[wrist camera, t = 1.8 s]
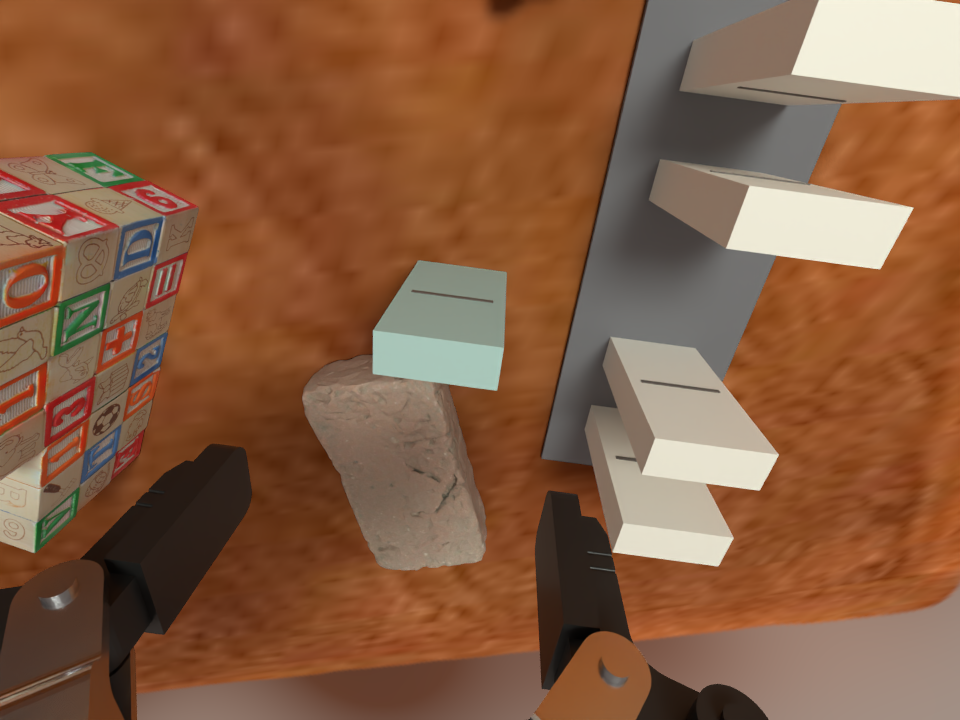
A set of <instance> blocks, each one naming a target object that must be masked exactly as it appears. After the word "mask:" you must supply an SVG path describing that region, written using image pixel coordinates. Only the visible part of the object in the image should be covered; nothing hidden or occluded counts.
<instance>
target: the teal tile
mask: <svg viewBox="0 0 960 720" xmlns="http://www.w3.org/2000/svg"><path fill="white" fill-rule="evenodd" d="M506 279H507V272H502V271H495V270H487V269H480V268H472V267H465V266H458V265H450V264H443V263H435V262H428V261H420V260H419V261H418V262H417V264H416V265H415V267H414V268H413V270H412V271H411V273H410V274H409V276H408V277H407V279H406V281H405V282H404V284H403V285H402V287H401V288H400V290H399V291H398V293H397V294H396V296H395V297H394V299H393V301H392V302H391V304H390V305H389V307H388V308H387V310H386V311H385V313H384V314H383V316H382V317H381V319H380V320H379V322H378V324H377V325H376V327H375V328H374V330H373V374H377V375H384V376H391V377H399V378H406V379H414V380H421V381H429V382H436V383H444V384H451V385H458V386H466V387H473V388H481V389H488V390H496V391H497V388H498V381H499V375H500V369H501V363H502V356H503V350H504V332H505V305H506Z"/></svg>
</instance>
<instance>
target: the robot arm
mask: <svg viewBox="0 0 960 720" xmlns="http://www.w3.org/2000/svg"><path fill="white" fill-rule="evenodd" d="M251 496H252V489H251V482H250V475H249V469H248V462H247V456H246V451H245V450H244V448H242V447H235V446H228V445H221V444H211V445H209V446H208V447H207V448H206V449H205V450H204V451H203V452H202V453H201V454H200V455H199V456H198V457H197V458H196V459H195V460H194V462H193V461H185V462H183V463H181V464H180V465H178V466H176V467H174V468H173V469H171V470H169V471H168V472H166V473H164V474H163V475H162V476H161V477H160V478H159V480H158V481H157V482H156V483H155V484H154V485H153V486H152V487H151V488H150V489H149V492H148V493H147V492H146V493H145V494H144V495H143V496H142V497H141V498H140V499H139V500H138V501H137V502H136V505H135V506H132V507H131V508H130V509H129V510H128V511H127V512H126V513H125V514H124V515H123V516H122V517H121V518H120V519H119V520H118V521H117V522H116V523H115V524H114V525H113V526H112V527H111V528H110V529H109V531H108V532H107V533H106V534H105V535H104V536H103V537H102V538H101V539H100V540H99V541H98V542H97V543H96V544H95V545H94V546H93V547H92V548H91V549H90V550H89V551H88V552H87V553H86V554H85V555H84V556H83V557H82V558H81V559H80V560H73V561H68V562H64V563H60V564H58V565H55V566H53V567H50V568H48V569H46V570H44V571H43V572H41V573H39V574H37V575H36V576H35V577H33V578H32V579H30V580H29V581H28V582H27V583H25V584H24V585H23V586H20V587H13V588H6V589H0V720H137V703H136V701H137V700H136V660H135V649H134V645H135V644H136V642H137V641H138V640H139V638H140V637H141V636H142V634H143V633H144V632H148V633H155V634H162V635H164V634H165V633H166V631H167V630H168V628H169V627H170V625H171V624H172V622H173V621H174V620H175V618H176V617H177V615H178V614H179V612H180V611H181V609H182V608H183V606H184V605H185V603H186V602H187V600H188V599H189V597H190V596H191V594H192V593H193V591H194V590H195V588H196V587H197V585H198V584H199V582H200V581H201V580H202V578H203V577H204V575H205V574H206V572H207V571H208V569H209V568H210V566H211V565H212V563H213V562H214V560H215V559H216V557H217V556H218V554H219V553H220V551H221V550H222V548H223V547H224V545H225V544H226V542H227V541H228V540H229V538H230V537H231V535H232V534H233V532H234V531H235V529H236V528H237V526H238V525H239V523H240V522H241V520H242V519H243V517H244V516H245V514H246V512H247V510H248V508H249V505H250V502H251ZM611 555H612V553H611V549H610V544H609V540H608V535H607V534H606V532H605V531H604V529H603V528H602V526H601V525H600V523H599V522H598V520H597V519H596V518H592V517H585V516H581V511H580V505H579V499H578V496H577V495H576V494H570V493H563V492H555V491H548V492H547V495H546V499H545V503H544V507H543V511H542V515H541V519H540V523H539V526H538V531H537V536H536V545H535V562H536V582H537V602H538V622H539V642H540V661H541V683H542V689H548V690H550V691H549V692H548V694H547V696H546V697H545V698H544V700H543V701H542V703H541V704H540V706H539V707H538V708H537V710H536V711H535V713H534V714H533V715H532V717H531V718H530V719H529V720H768V718H767V717H766V715H765V714H764V713H763V711H762V710H761V709H760V708H759V707H758V706H757V704H755V703H754V702H753V701H752V700H751V699H750V698H749V697H747V696H746V695H745V694H743V693H742V692H740V691H738V690H737V689H734V688H732V687H730V686H726V685H721V684H714V685H709V686H707V687H705V688H704V689H703V690H702V691H701V692H700V693H699V692H697V691H695V690H693V689H691V688H688V687H686V686H684V685H682V684H680V683H678V682H676V681H674V680H672V679H670V678H668V677H666V676H664V675H662V674H661V673H659V672H658V671H656V670H655V669H654V668H653V667H651V666H650V665H649V664H648V663H647V662H646V660H645V658H644V656H643V655H642V653H641V652H640V651H639V650H638V648H637V647H636V646H635V645H634V644H633V641H632V639H631V636H630V633H629V629H628V624H627V620H626V615H625V611H624V606H623V602H622V598H621V593H620V589H619V584H618V580H617V575H616V574H615V566H614V562H613V558H612V557H611Z"/></svg>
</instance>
